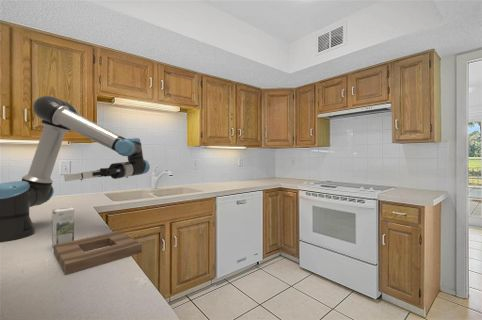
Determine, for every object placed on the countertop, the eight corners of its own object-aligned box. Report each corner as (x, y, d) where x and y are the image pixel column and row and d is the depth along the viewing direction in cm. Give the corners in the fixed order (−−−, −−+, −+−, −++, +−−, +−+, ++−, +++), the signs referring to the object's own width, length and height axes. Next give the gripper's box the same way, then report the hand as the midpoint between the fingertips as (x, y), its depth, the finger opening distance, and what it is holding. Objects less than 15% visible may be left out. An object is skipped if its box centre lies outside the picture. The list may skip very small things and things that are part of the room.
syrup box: (69, 242, 93) (69, 206, 93) (74, 245, 89) (74, 208, 89) (51, 246, 89) (51, 208, 89) (56, 250, 85) (55, 211, 85)
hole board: (53, 253, 82) (53, 244, 82) (120, 237, 98) (119, 230, 98) (65, 274, 67) (65, 264, 67) (141, 252, 83) (141, 244, 83)
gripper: (139, 175, 109) (93, 183, 90) (106, 179, 120) (59, 187, 101) (136, 159, 108) (90, 164, 90) (103, 165, 120) (56, 170, 101)
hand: (73, 177), depth 95 cm, fingers open, 13 cm apart
